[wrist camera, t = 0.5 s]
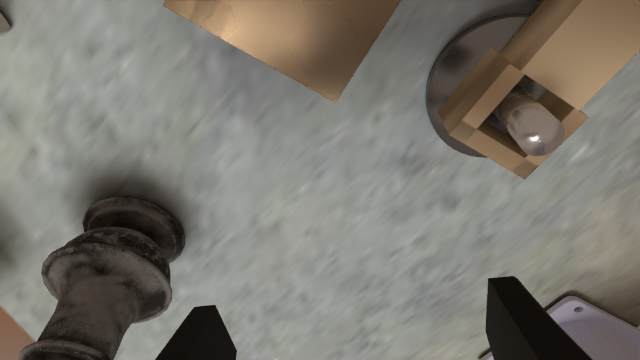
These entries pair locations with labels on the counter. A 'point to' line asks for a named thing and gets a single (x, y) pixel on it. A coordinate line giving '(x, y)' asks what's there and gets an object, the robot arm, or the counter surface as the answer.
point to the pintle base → (517, 106)
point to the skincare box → (3, 25)
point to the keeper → (296, 34)
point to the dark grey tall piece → (108, 279)
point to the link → (545, 73)
